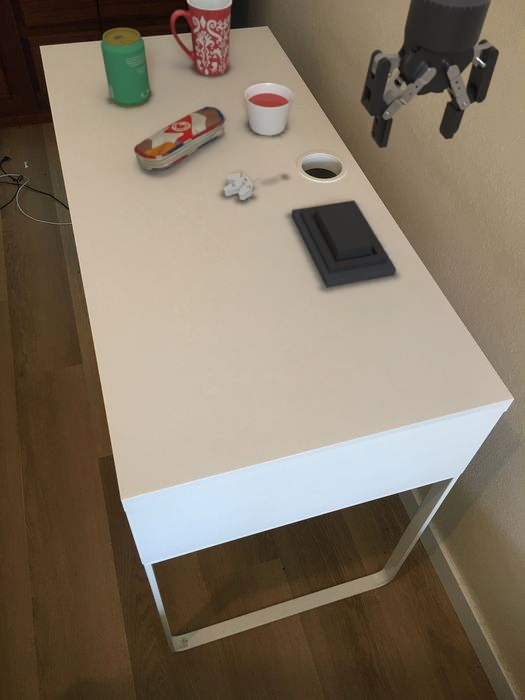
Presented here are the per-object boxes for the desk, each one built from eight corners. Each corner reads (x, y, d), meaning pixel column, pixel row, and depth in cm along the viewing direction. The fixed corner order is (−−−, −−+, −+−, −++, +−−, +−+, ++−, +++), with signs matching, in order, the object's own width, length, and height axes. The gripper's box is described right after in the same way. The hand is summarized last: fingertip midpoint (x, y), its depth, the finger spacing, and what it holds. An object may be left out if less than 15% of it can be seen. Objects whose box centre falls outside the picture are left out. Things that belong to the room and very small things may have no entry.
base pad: (394, 274, 87) (397, 264, 85) (326, 287, 85) (328, 277, 83) (353, 205, 97) (355, 195, 95) (291, 215, 95) (292, 204, 93)
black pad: (369, 256, 87) (373, 244, 85) (336, 262, 86) (338, 250, 84) (346, 215, 93) (348, 203, 91) (314, 220, 92) (316, 208, 90)
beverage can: (131, 84, 119) (122, 22, 110) (159, 97, 116) (152, 35, 107) (102, 98, 115) (90, 36, 106) (129, 112, 112) (120, 49, 103)
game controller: (215, 190, 98) (215, 177, 96) (262, 163, 103) (263, 150, 101) (239, 205, 96) (239, 192, 94) (285, 177, 101) (286, 164, 99)
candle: (291, 116, 114) (294, 84, 109) (289, 141, 108) (291, 109, 103) (246, 112, 114) (247, 81, 109) (241, 137, 108) (242, 105, 103)
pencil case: (121, 153, 104) (117, 127, 100) (210, 119, 112) (209, 95, 108) (154, 183, 99) (150, 157, 95) (244, 146, 107) (244, 121, 103)
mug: (228, 56, 128) (227, -11, 117) (236, 76, 123) (236, 8, 112) (171, 60, 126) (165, -8, 115) (177, 81, 121) (171, 11, 110)
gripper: (402, 9, 52) (369, 166, 64) (539, -3, 54) (482, 149, 67) (370, -23, 56) (345, 130, 69) (498, -32, 59) (452, 116, 72)
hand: (413, 139), depth 68 cm, fingers open, 8 cm apart
